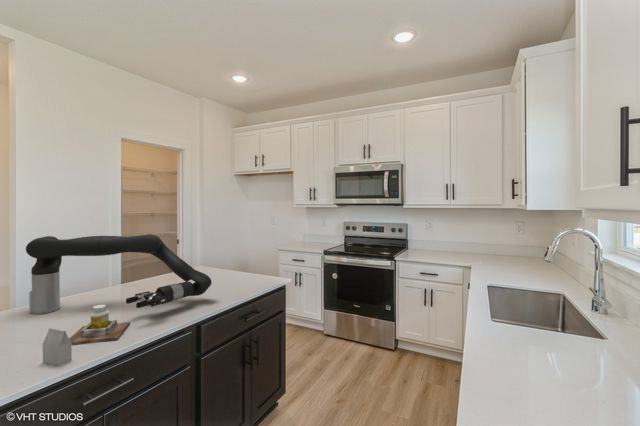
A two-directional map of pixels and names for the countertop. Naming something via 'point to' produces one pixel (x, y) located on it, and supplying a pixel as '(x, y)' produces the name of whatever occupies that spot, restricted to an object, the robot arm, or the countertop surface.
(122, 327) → the holder board
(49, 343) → the grey gable-top carton
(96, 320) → the supplement bottle
